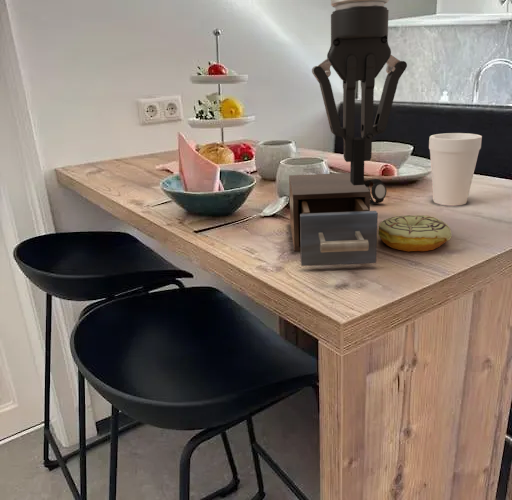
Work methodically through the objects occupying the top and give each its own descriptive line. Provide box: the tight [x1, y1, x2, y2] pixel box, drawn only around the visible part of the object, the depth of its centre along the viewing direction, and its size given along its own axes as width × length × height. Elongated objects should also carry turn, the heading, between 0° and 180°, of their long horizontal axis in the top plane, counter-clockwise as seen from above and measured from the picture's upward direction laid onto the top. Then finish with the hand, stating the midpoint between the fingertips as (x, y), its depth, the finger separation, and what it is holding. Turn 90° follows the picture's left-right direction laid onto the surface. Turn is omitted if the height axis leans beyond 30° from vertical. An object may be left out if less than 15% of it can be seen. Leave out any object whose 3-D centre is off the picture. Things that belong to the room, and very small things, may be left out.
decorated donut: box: [377, 214, 453, 253], centre depth 79 cm, size 10×11×4 cm
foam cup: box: [428, 132, 483, 207], centre depth 99 cm, size 10×9×13 cm
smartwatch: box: [364, 178, 388, 205], centre depth 102 cm, size 4×5×5 cm
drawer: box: [300, 197, 379, 267], centre depth 72 cm, size 19×10×7 cm, turn 179°
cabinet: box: [288, 172, 371, 252], centre depth 83 cm, size 15×12×9 cm
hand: (356, 183), depth 74 cm, fingers closed
